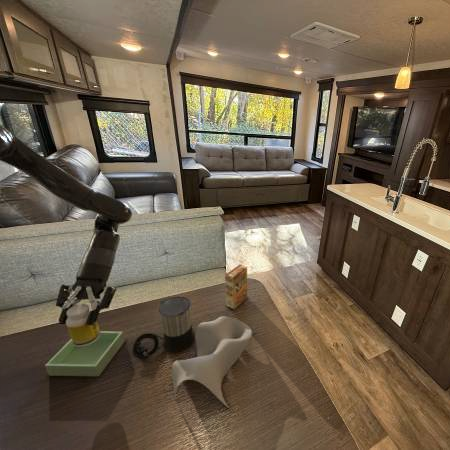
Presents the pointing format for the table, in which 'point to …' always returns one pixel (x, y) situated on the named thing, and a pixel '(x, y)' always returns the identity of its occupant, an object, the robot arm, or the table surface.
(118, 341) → the shallow green tray
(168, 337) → the milk frother
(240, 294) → the candy box
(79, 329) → the pill bottle
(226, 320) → the sculpture
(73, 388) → the table surface
